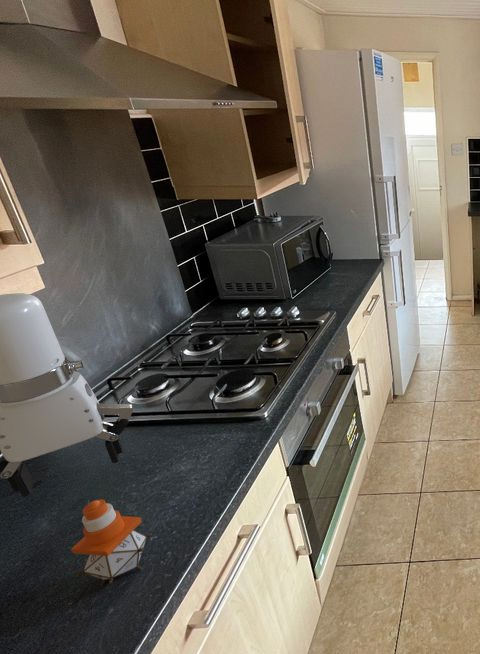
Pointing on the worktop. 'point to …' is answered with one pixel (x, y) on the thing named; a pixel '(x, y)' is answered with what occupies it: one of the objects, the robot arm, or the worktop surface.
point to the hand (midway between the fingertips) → (74, 472)
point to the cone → (103, 529)
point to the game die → (117, 559)
